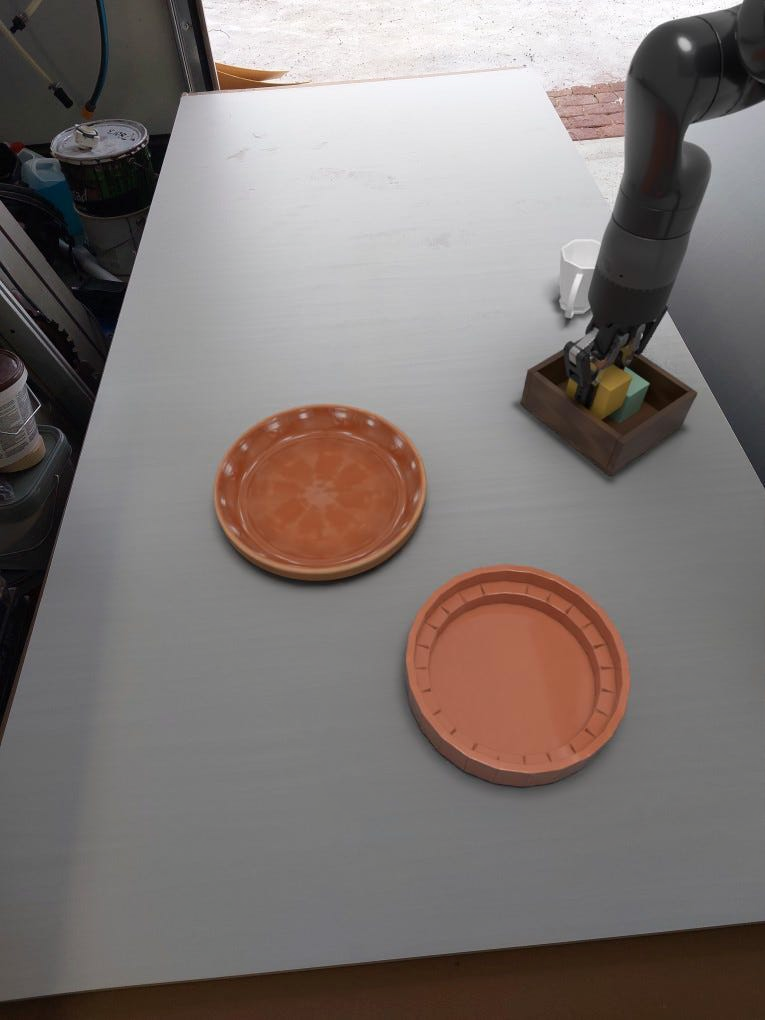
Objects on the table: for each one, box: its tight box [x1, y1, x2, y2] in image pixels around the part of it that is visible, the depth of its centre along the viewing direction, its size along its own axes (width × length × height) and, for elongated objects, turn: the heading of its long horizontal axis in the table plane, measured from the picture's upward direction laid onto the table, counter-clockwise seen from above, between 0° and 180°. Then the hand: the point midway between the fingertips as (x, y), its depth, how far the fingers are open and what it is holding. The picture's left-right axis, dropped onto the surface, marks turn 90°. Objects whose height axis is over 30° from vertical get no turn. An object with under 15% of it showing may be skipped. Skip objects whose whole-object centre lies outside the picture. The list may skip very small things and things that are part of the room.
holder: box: [520, 336, 699, 477], centre depth 82 cm, size 15×13×6 cm
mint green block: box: [608, 367, 650, 424], centre depth 82 cm, size 6×4×4 cm, turn 37°
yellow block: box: [566, 362, 633, 420], centre depth 78 cm, size 6×4×4 cm, turn 37°
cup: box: [558, 238, 602, 319], centre depth 92 cm, size 7×10×8 cm
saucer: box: [212, 403, 428, 582], centre depth 75 cm, size 23×23×4 cm
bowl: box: [404, 563, 631, 788], centre depth 62 cm, size 19×19×4 cm
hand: (595, 394), depth 79 cm, fingers closed on yellow block, 3 cm apart
